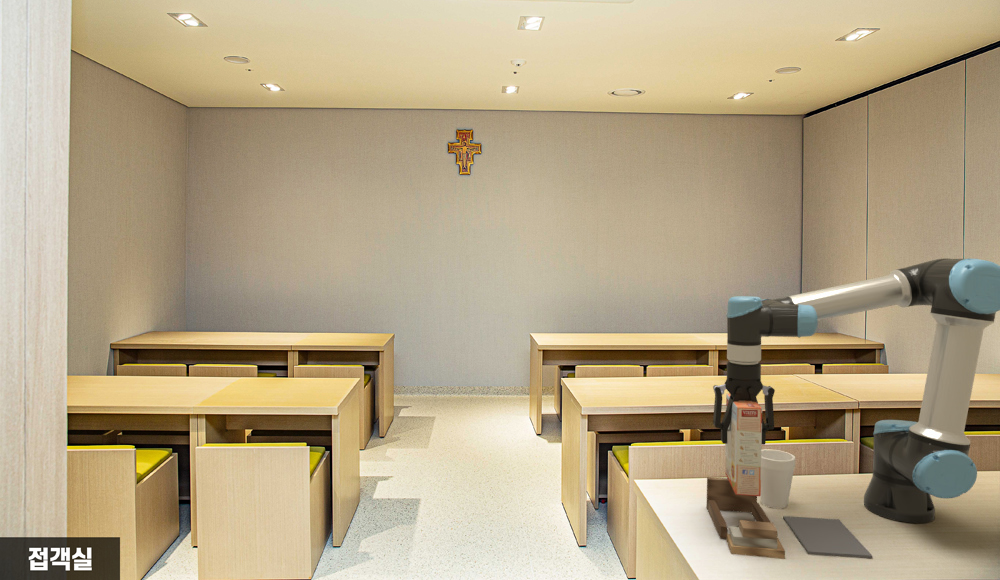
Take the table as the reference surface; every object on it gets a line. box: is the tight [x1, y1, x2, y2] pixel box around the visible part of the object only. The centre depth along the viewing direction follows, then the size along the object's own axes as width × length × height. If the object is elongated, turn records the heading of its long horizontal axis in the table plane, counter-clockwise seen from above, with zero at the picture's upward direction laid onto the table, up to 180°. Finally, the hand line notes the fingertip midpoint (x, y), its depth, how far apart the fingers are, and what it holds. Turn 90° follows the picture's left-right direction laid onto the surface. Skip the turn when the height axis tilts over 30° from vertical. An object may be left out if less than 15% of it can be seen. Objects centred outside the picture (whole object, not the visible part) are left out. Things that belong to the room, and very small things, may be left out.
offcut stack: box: [726, 519, 786, 560], centre depth 134 cm, size 11×6×6 cm, turn 79°
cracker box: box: [724, 393, 763, 497], centre depth 144 cm, size 14×6×21 cm, turn 168°
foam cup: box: [759, 448, 797, 510], centre depth 158 cm, size 10×9×13 cm
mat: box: [782, 515, 874, 559], centre depth 140 cm, size 13×18×1 cm
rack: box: [706, 476, 772, 540], centre depth 147 cm, size 12×18×8 cm
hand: (742, 456), depth 145 cm, fingers closed on cracker box, 6 cm apart
